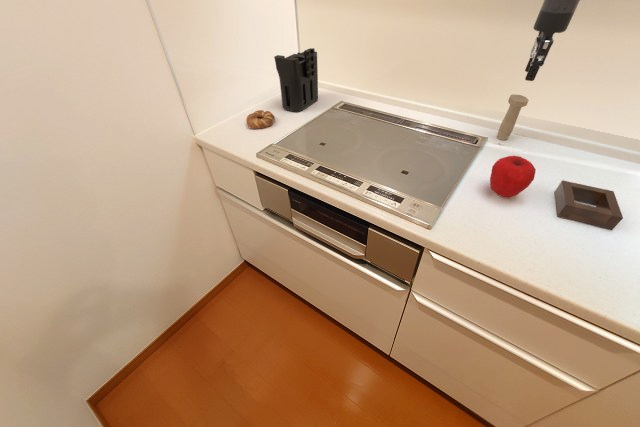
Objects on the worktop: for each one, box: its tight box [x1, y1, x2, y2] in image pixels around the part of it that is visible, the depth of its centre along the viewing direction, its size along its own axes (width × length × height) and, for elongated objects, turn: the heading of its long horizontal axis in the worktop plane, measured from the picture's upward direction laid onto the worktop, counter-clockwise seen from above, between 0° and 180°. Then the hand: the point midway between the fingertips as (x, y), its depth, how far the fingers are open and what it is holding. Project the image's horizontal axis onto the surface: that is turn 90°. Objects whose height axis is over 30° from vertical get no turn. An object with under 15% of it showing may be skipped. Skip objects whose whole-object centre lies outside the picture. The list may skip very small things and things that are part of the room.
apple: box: [489, 155, 536, 199], centre depth 77 cm, size 10×10×11 cm
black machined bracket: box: [273, 47, 319, 113], centre depth 122 cm, size 12×21×22 cm, turn 149°
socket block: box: [554, 179, 624, 231], centre depth 73 cm, size 11×11×4 cm
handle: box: [496, 94, 529, 145], centre depth 96 cm, size 5×6×15 cm
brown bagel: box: [245, 109, 276, 130], centre depth 114 cm, size 12×11×4 cm
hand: (528, 75), depth 86 cm, fingers open, 8 cm apart
